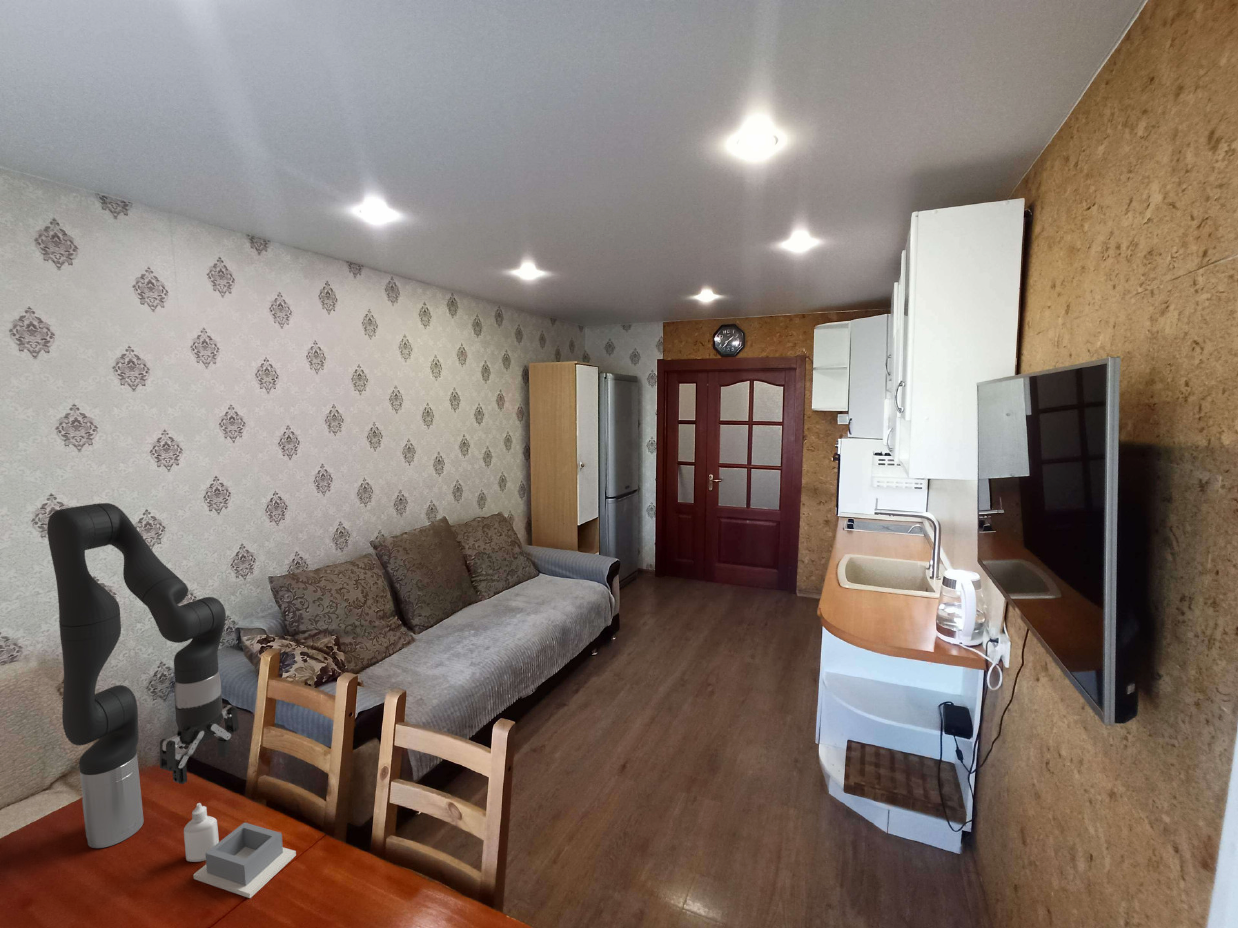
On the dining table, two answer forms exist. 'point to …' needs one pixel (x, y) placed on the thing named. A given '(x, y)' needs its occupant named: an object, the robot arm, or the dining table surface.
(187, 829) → the eye dropper bottle
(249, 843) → the socket
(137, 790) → the robot arm
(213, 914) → the dining table surface
